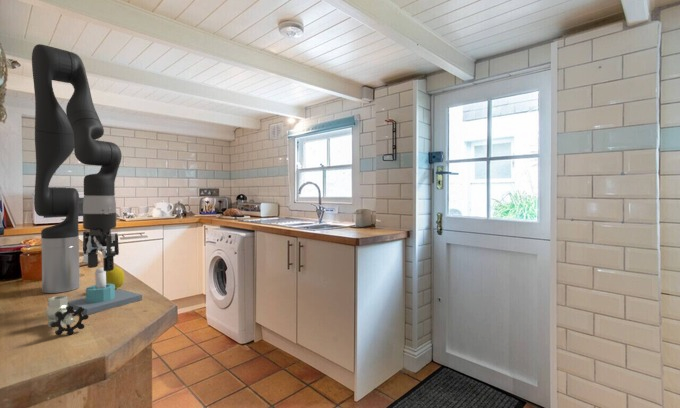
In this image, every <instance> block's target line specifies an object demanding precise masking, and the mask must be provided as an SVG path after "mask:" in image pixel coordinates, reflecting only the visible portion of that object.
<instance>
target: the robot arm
mask: <svg viewBox="0 0 680 408" xmlns="http://www.w3.org/2000/svg"><path fill="white" fill-rule="evenodd" d="M31 66H32V67H31V70H32V79H33V81H32V82H33V89H34V105H35V109H34V110H35V113H34V118H35V119H34V147H35V151H34V152H35V181H34V182H35V183H34V195H33V204H34V205H33V207H34V210H35V213H36V215H37V216H39V217H65V219H64V220H62V221H61V222H59V223H57V224H55V225H51V226H48V227H45V228H42V229H41V231H40V232H41V235H40V237H41V240H40V241H41V283H42V286H41V289H42V293H45V294H57V293H65V292H70V291H74V290H76V289H79V288H80V237H79V234H80V232H79V215H80V214H79V212H80V211H79V210H80V195H79V191H78V189H76V188H75V187H50V183H51V180H52V178H53V175H54V174H55V173H56V171H58V169H59V168H60V167H61V165H62V164H63V163H64V162H66V160H68V158H69V157H70V156H71V155H72V153H73V152H74V156H75V157H76V159H77V161H78V162H80V163H81V164H83V165H86V166H87V165H88V166H95V167H96V166H99V167H100V169H99V171H98V173H91V174H90V173H89V174H86V175H85V176H84V178H83V200H82V228H83V229H84V230H85V231H83V232H82V251H83V252H84V253H86V255H87V267H88V268H89V269H90V268H97V267H98V266H99V261H98V259H99V256H98V255H99V254H98V252H101V254H102V257H103V259H102V260H103V265H102V266H103V267H102V268H104V271H112V270H113V269H114V266H115V265H114V257H115V256H119V254H120V252H119V250H120V247H119V234H118V232H117V233H112V232H111V229H114V228H116V227H117V203H116V196H115V195H116V191H115V188H116V187H115V183H116V178H117V175H118V170H119V168H120V165H121V162H122V151H121V149H120V147H119V146H118V144H116V143H114V142H111V141H106V140H105V141H104V140H100V138H102V137H103V135H104V133H105V129H104V126H103V124H102V121H101V119H100V117H99V115H98V113H97V110H96V108H95V105H94V102H93V98H92V93H91V89H90V84H89V83H90V82H89V80H88V76H87V75H88V74H87V72H86V68H85V65H84V62H83V60H82V58H81V57H80V55H78V54H77V53H75V52H72V51H69V50H65V49H61V48H57V47H54V46H49V45H46V44H43V43H42V44H41V43H38V44H35V46H34V47H33V48H32V52H31ZM53 81H55V82H61V83H66V84H71V85H72V88H73V93H72V95H71V96H70V98H69V100H68V102H67V104H66V107H65V108H66V109H65V111H64V109H63V107H62V106H61V105H60V103H59V102H58V100H57V98H56V95H55V92H54V88H53ZM98 139H99V140H98Z"/></svg>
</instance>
